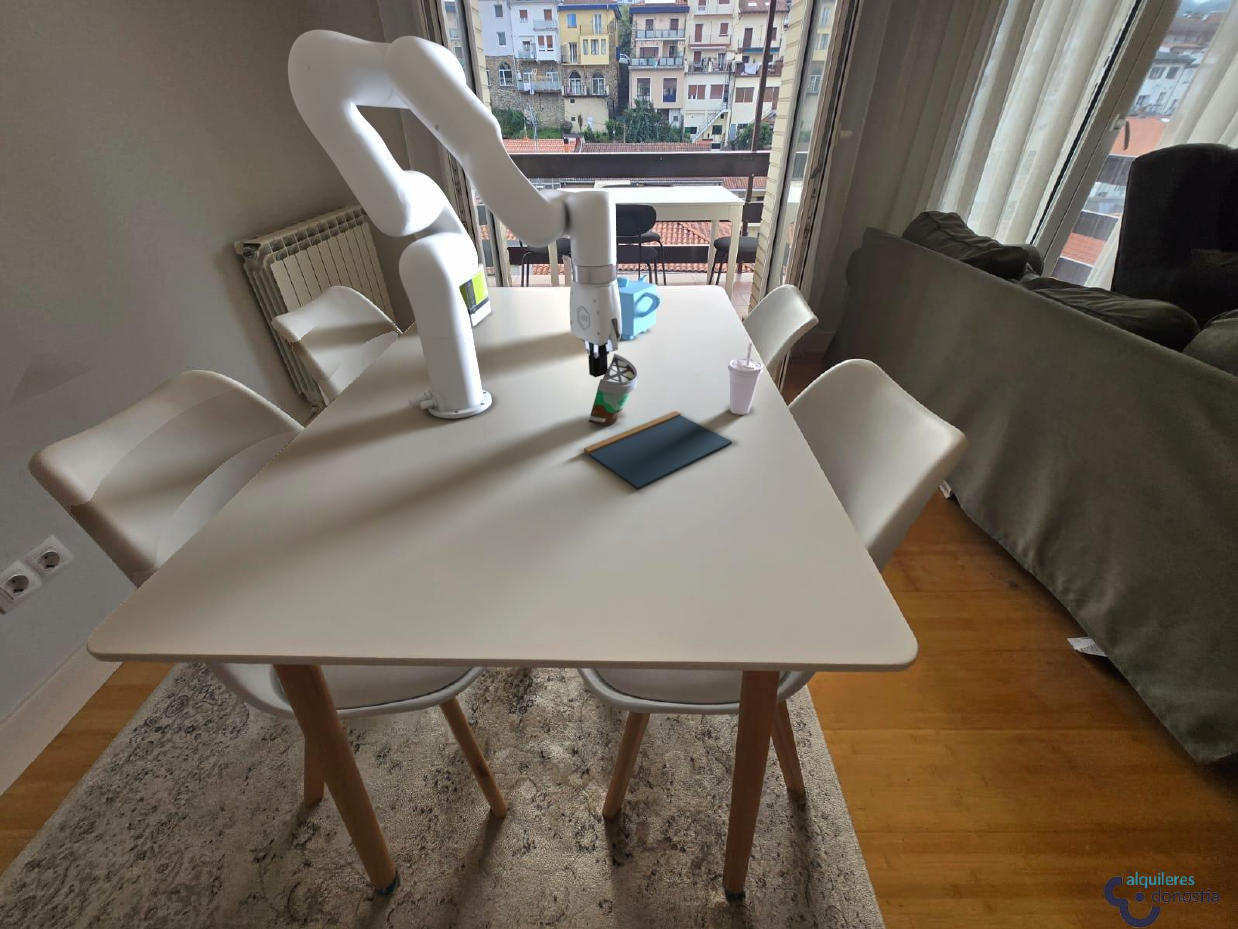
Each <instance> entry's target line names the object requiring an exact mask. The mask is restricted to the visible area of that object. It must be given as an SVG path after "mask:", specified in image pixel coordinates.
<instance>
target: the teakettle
mask: <svg viewBox="0 0 1238 929" xmlns="http://www.w3.org/2000/svg"><path fill="white" fill-rule="evenodd" d="M647 277H648V274H644V275H641V276H639V277H638V279H637V281H636V280H630V277H628V276H618V277H617V282H616V284H617V286H618V292H619V299H620V308H621V324H622V329H621V338H622V340H624V341H631V340H633V339H634V337H635V336H636V335H638V334H640V333H645V332H647V329H649V328H651V327H653V326H655V325H656V323H657V310H658V308H659V306H661V302H662V299H661V297H660V296H659V295H658V294H657V291H658V290H657V289H658V288H657V286H658V285H657V284H656V283H650V282H645V281H646V279H647Z"/></svg>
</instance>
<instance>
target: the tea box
mask: <svg viewBox="0 0 1238 929" xmlns="http://www.w3.org/2000/svg"><path fill="white" fill-rule="evenodd" d="M486 280H487V279H486V275H485V270H484V264H483V263H478V266H477V269H476V272H475V274H474V275H473V276H472V277H471V278H470V279H469V280H468V281H466V282H465V283H464V284H462V285H460V286H459V290H460V293H461V296H462V298H463V300H464V303H465V305H466V308H467V311H468V315H469V319H470V325H471V328H472V327H474V326H476V325H477V324H478V323H479V322H480V321H481V320H483V319H485V317H486V316H488V314H490V313H491V312H492V311H491V303H490V300H489V299H490V298H489V291H488V287H487V281H486Z"/></svg>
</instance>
